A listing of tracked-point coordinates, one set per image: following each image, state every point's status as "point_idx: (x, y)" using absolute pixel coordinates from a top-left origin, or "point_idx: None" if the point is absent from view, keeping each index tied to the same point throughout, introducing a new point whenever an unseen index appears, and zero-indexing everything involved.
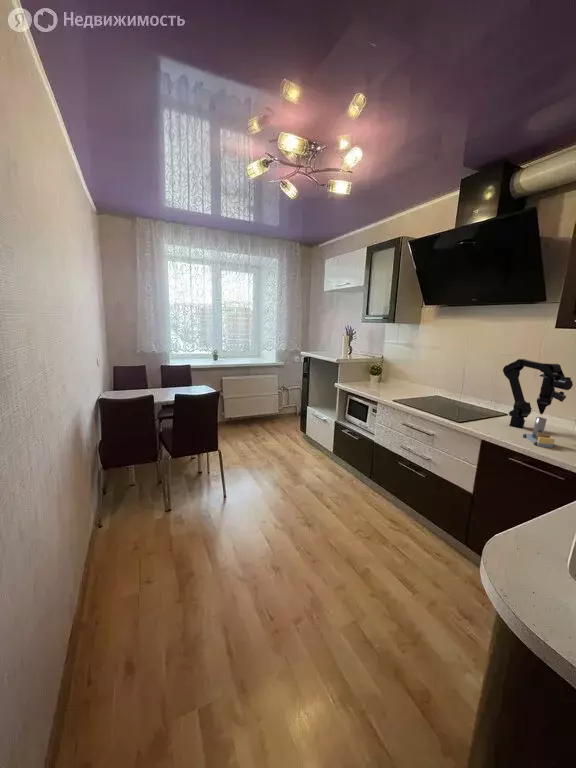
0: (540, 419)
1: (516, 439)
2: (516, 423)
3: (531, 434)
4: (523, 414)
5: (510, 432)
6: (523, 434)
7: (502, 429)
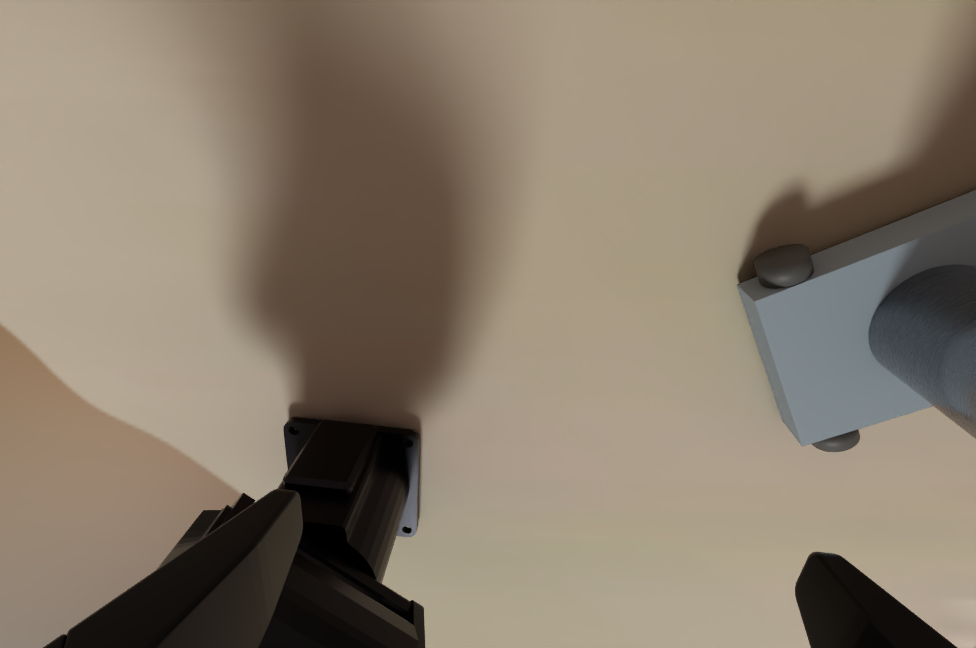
0: None
1: (954, 479)
2: (399, 512)
3: (800, 376)
4: (378, 610)
5: (690, 520)
6: (829, 447)
7: (625, 575)
